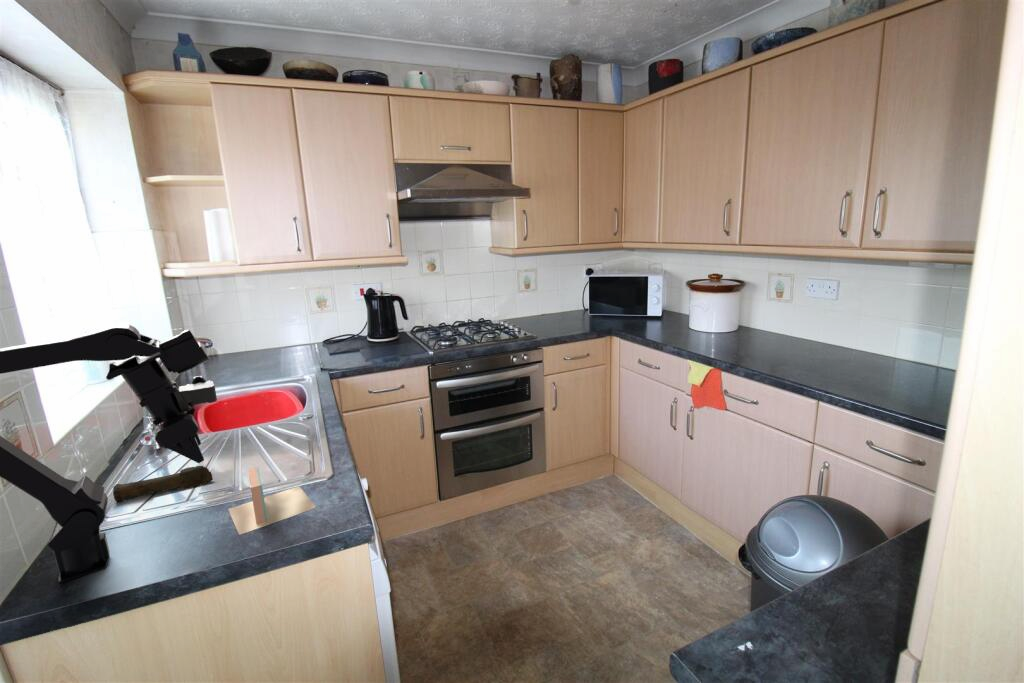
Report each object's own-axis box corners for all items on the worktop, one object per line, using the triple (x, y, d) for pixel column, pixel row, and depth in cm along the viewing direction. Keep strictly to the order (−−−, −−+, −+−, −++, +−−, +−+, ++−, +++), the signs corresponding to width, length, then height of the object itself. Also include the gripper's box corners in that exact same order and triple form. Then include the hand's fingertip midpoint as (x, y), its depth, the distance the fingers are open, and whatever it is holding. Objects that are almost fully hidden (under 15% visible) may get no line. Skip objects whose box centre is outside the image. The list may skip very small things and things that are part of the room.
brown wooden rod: (113, 505, 110) (109, 487, 109) (119, 497, 114) (115, 478, 113) (210, 487, 117) (207, 469, 116) (213, 479, 121) (210, 462, 120)
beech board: (240, 540, 96) (239, 534, 96) (228, 514, 105) (228, 509, 105) (316, 512, 105) (315, 507, 104) (300, 490, 114) (299, 486, 114)
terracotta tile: (256, 524, 99) (250, 487, 97) (253, 503, 107) (247, 469, 105) (267, 521, 100) (261, 485, 98) (263, 501, 108) (258, 467, 106)
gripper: (202, 376, 87) (247, 445, 93) (196, 356, 102) (235, 417, 108) (131, 409, 82) (185, 481, 88) (136, 383, 97) (181, 446, 103)
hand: (200, 453), depth 97 cm, fingers open, 9 cm apart
